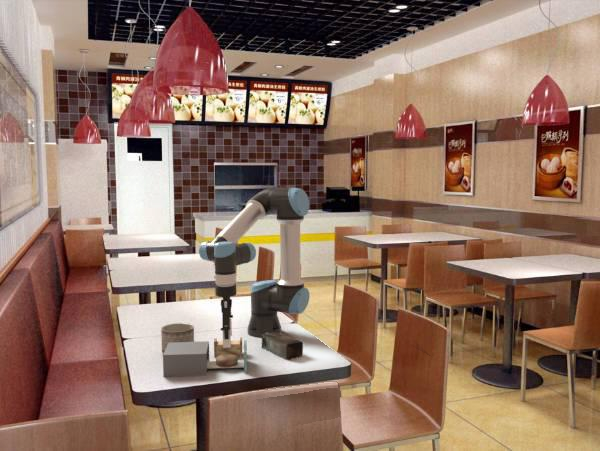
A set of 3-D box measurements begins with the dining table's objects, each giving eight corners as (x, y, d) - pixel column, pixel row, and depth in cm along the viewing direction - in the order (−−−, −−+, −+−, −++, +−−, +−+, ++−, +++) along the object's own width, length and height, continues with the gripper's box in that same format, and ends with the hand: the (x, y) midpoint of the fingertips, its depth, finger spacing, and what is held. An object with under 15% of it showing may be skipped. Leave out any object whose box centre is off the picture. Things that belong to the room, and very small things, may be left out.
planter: (159, 350, 229) (158, 325, 228) (190, 346, 234) (190, 321, 233) (165, 359, 217) (164, 333, 216) (197, 355, 222) (197, 329, 221)
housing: (209, 361, 215) (208, 341, 214) (206, 375, 200) (206, 353, 200) (169, 362, 214) (168, 342, 213) (163, 376, 199) (162, 355, 198)
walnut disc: (238, 359, 212) (238, 354, 212) (237, 367, 205) (237, 361, 204) (216, 360, 212) (216, 354, 212) (215, 367, 204) (215, 361, 204)
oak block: (242, 352, 225) (242, 337, 224) (242, 356, 220) (242, 341, 220) (214, 353, 224) (214, 338, 223) (214, 357, 219) (213, 341, 219)
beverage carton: (277, 344, 236) (277, 329, 235) (304, 357, 220) (304, 340, 220) (261, 348, 231) (260, 332, 231) (286, 361, 216) (286, 344, 215)
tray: (246, 359, 216) (246, 340, 215) (246, 372, 202) (246, 352, 201) (207, 360, 215) (207, 341, 214) (204, 373, 201) (204, 353, 200)
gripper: (217, 277, 217) (219, 331, 220) (213, 292, 193) (215, 353, 195) (236, 277, 218) (238, 330, 221) (235, 292, 193) (237, 352, 196)
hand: (227, 341), depth 208 cm, fingers open, 13 cm apart
